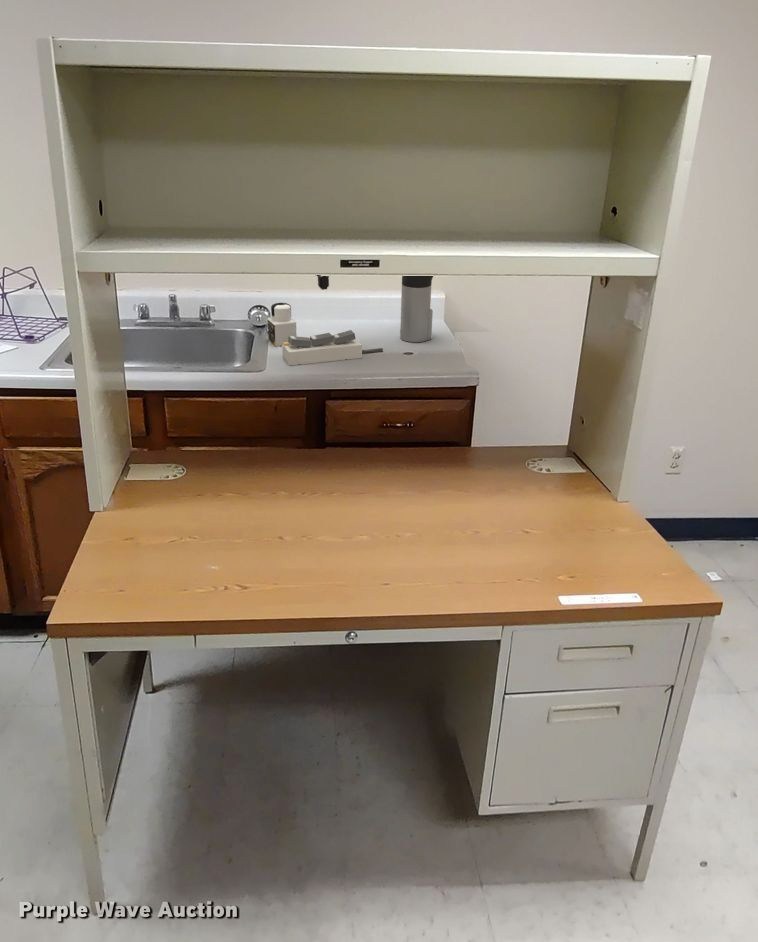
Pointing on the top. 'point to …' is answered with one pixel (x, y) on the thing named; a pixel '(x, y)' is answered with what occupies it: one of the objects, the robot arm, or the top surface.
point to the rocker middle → (321, 339)
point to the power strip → (324, 352)
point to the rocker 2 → (344, 337)
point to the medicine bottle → (280, 324)
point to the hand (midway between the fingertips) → (323, 288)
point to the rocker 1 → (299, 341)
